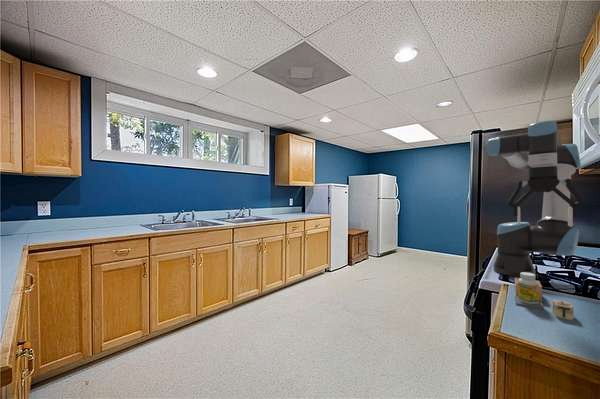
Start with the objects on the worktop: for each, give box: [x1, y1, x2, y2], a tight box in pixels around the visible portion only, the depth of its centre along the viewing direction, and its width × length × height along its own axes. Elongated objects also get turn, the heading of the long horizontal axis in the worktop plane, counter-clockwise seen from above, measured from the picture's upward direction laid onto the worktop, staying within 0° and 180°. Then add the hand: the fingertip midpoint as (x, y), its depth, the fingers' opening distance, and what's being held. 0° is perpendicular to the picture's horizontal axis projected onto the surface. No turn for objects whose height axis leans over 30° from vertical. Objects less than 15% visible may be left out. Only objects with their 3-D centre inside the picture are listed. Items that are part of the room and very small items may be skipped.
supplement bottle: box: [518, 272, 539, 304], centre depth 91 cm, size 5×5×10 cm
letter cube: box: [552, 299, 574, 321], centre depth 81 cm, size 4×4×4 cm
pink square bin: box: [514, 277, 543, 302], centre depth 97 cm, size 7×7×5 cm
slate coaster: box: [514, 295, 545, 310], centre depth 91 cm, size 7×7×1 cm
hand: (543, 225), depth 95 cm, fingers open, 13 cm apart
